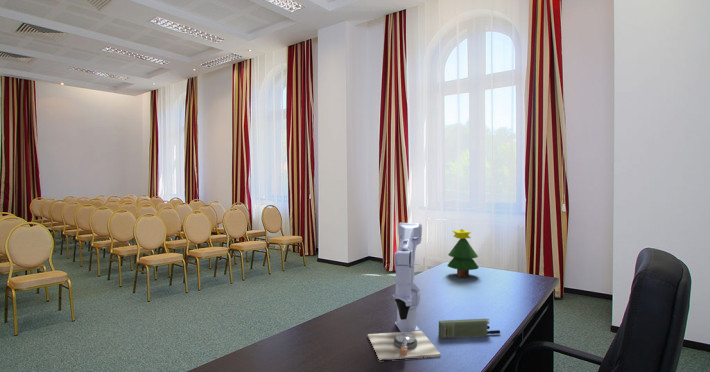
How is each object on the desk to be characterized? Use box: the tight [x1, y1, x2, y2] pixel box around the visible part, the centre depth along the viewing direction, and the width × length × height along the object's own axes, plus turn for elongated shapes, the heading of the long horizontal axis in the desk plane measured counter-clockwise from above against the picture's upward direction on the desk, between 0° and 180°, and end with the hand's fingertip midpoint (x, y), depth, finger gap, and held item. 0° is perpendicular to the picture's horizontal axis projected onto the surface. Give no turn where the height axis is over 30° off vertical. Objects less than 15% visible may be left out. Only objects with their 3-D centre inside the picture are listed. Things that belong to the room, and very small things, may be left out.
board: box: [367, 330, 442, 361], centre depth 140 cm, size 20×22×2 cm
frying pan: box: [396, 333, 415, 356], centre depth 135 cm, size 7×16×2 cm, turn 170°
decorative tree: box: [446, 228, 479, 278], centre depth 239 cm, size 19×19×30 cm
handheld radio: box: [438, 318, 501, 339], centre depth 149 cm, size 7×3×25 cm
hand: (403, 318), depth 142 cm, fingers closed
